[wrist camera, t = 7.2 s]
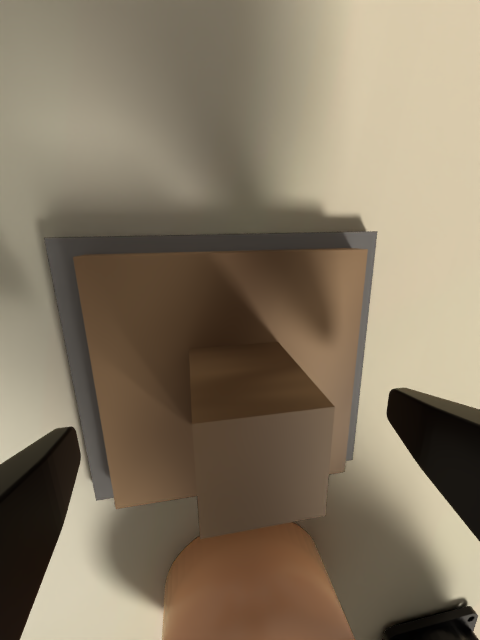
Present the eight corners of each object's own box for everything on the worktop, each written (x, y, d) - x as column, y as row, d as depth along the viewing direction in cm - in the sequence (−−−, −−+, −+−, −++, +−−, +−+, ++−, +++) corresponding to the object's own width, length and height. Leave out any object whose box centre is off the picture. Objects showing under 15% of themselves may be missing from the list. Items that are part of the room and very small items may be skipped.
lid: (351, 247, 11) (485, 258, 6) (333, 454, 13) (416, 578, 8) (84, 254, 9) (-24, 275, 4) (121, 486, 12) (78, 658, 7)
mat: (367, 231, 11) (377, 231, 11) (345, 450, 14) (352, 460, 13) (52, 237, 9) (44, 237, 9) (100, 488, 12) (96, 500, 12)
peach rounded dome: (322, 503, 15) (369, 597, 11) (313, 612, 17) (350, 720, 13) (157, 533, 13) (146, 651, 10) (172, 647, 16) (167, 779, 12)
